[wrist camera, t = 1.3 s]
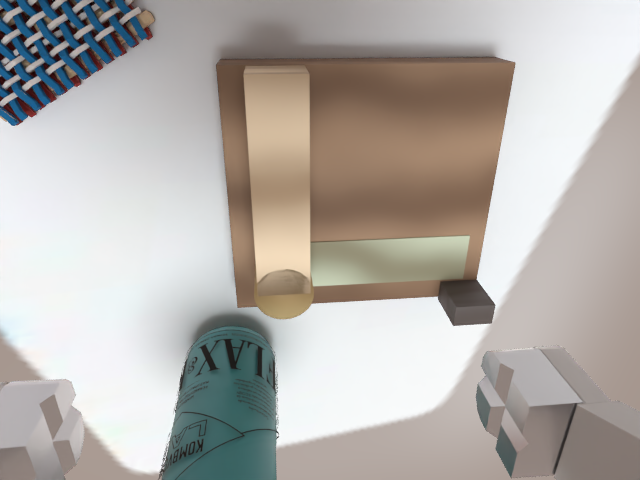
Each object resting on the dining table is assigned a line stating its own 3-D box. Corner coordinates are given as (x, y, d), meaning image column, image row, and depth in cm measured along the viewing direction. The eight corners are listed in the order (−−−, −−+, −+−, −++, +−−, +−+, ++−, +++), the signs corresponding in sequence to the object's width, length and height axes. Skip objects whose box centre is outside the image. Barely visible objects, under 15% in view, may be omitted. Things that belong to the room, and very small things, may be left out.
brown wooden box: (220, 59, 27) (210, 73, 22) (495, 57, 28) (544, 70, 23) (239, 289, 34) (235, 339, 29) (459, 277, 35) (491, 323, 30)
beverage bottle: (292, 330, 36) (321, 660, 18) (249, 390, 38) (238, 736, 20) (212, 296, 34) (155, 631, 16) (172, 361, 36) (83, 719, 18)
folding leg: (309, 289, 31) (313, 317, 28) (256, 292, 31) (255, 320, 28) (308, 65, 25) (313, 73, 22) (241, 65, 24) (238, 74, 22)
